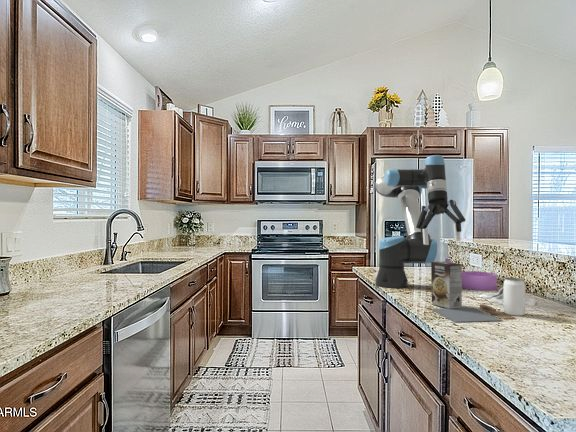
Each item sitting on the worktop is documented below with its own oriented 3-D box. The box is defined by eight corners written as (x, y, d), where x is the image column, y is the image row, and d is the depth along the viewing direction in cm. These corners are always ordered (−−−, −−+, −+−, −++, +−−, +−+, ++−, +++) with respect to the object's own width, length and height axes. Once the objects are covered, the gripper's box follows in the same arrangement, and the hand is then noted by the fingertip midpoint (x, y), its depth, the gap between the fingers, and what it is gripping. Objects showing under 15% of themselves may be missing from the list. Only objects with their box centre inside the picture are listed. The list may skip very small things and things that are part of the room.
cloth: (547, 307, 142) (547, 291, 142) (497, 307, 142) (497, 291, 142) (512, 294, 164) (513, 280, 164) (469, 294, 164) (469, 280, 164)
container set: (488, 284, 184) (488, 257, 184) (502, 291, 169) (502, 261, 169) (435, 283, 187) (435, 256, 187) (444, 289, 172) (444, 260, 172)
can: (505, 310, 135) (505, 276, 135) (526, 313, 131) (526, 278, 131) (501, 314, 130) (501, 279, 130) (523, 317, 126) (523, 281, 126)
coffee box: (430, 304, 144) (430, 261, 144) (443, 302, 146) (443, 261, 147) (449, 309, 136) (448, 264, 136) (462, 307, 138) (462, 263, 138)
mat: (431, 309, 136) (431, 308, 136) (473, 308, 138) (473, 307, 138) (455, 322, 120) (455, 321, 120) (502, 321, 122) (502, 320, 122)
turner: (477, 307, 139) (477, 304, 139) (486, 307, 139) (486, 304, 139) (504, 319, 124) (504, 316, 124) (514, 319, 124) (514, 315, 124)
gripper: (406, 196, 165) (409, 245, 160) (461, 182, 145) (466, 237, 141) (416, 199, 169) (419, 247, 164) (471, 186, 150) (476, 239, 145)
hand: (441, 242), depth 152 cm, fingers open, 13 cm apart
